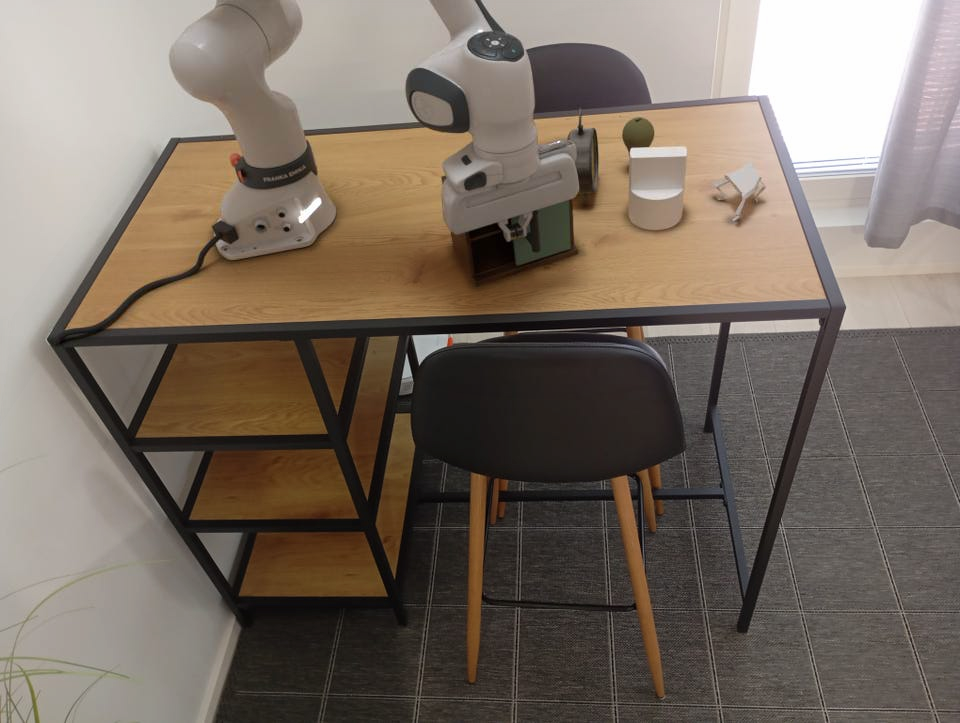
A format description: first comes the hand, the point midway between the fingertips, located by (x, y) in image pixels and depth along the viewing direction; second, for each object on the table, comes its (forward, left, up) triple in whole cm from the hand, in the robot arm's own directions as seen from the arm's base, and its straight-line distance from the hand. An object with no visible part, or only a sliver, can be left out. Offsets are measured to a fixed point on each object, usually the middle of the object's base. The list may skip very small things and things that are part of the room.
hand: (515, 237), depth 119 cm
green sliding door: (+6, +2, -8) cm, 10 cm away
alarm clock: (+20, +19, -10) cm, 29 cm away
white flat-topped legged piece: (+41, +2, -10) cm, 42 cm away
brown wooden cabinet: (+3, +10, -10) cm, 14 cm away
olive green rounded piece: (+32, +21, -10) cm, 39 cm away
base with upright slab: (+28, +7, -10) cm, 30 cm away
